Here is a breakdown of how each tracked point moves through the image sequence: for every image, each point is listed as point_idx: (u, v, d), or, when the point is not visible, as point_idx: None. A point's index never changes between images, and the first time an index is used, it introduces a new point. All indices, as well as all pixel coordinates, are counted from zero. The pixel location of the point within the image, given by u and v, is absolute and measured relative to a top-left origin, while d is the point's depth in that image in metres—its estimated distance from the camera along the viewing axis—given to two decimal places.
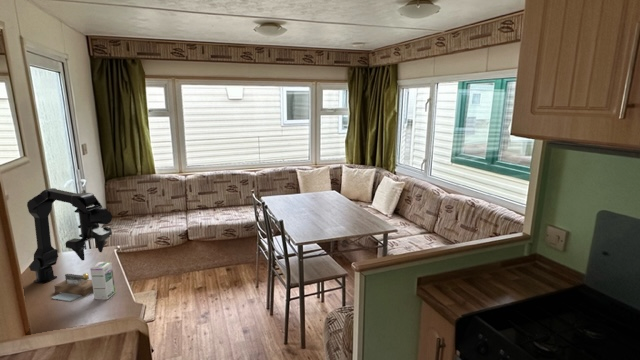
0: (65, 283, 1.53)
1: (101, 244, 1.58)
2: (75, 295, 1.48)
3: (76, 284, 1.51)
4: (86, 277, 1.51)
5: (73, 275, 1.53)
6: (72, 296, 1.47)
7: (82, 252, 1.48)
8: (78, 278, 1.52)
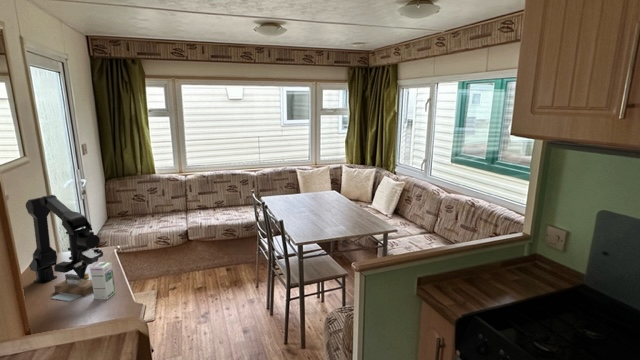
0: (65, 283, 1.53)
1: None
2: (75, 295, 1.48)
3: (76, 284, 1.51)
4: (86, 277, 1.51)
5: (73, 275, 1.53)
6: (72, 296, 1.47)
7: (81, 271, 1.48)
8: (78, 278, 1.52)
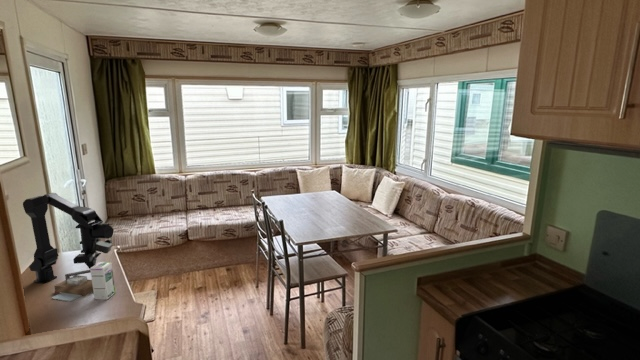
0: (65, 283, 1.53)
1: None
2: (75, 295, 1.48)
3: (76, 284, 1.51)
4: None
5: (76, 272, 1.55)
6: (72, 296, 1.47)
7: (94, 262, 1.56)
8: None
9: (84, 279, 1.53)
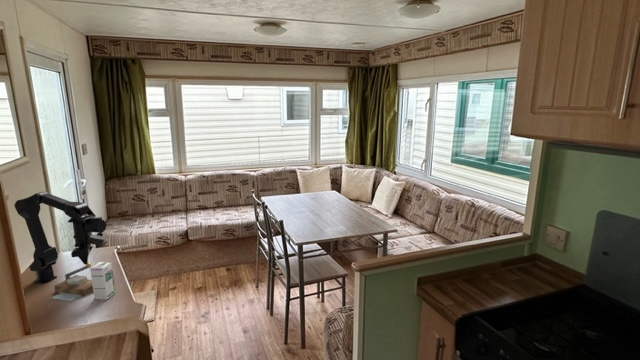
0: (65, 283, 1.53)
1: (87, 255, 1.59)
2: (75, 295, 1.48)
3: (76, 284, 1.51)
4: None
5: (75, 271, 1.57)
6: (72, 296, 1.47)
7: (87, 256, 1.57)
8: (83, 269, 1.60)
9: (84, 279, 1.53)
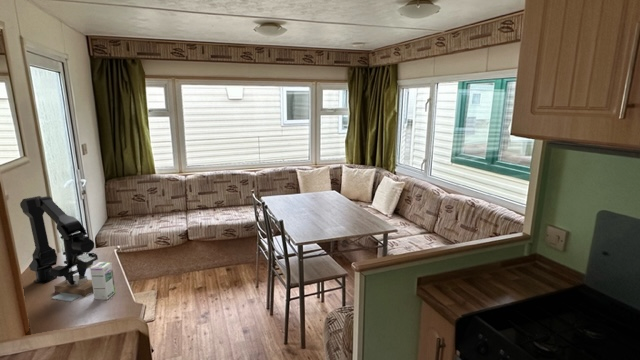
0: (65, 283, 1.53)
1: (82, 271, 1.55)
2: (75, 295, 1.48)
3: (76, 284, 1.51)
4: None
5: (75, 271, 1.57)
6: (72, 296, 1.47)
7: (71, 277, 1.49)
8: None
9: (84, 279, 1.53)
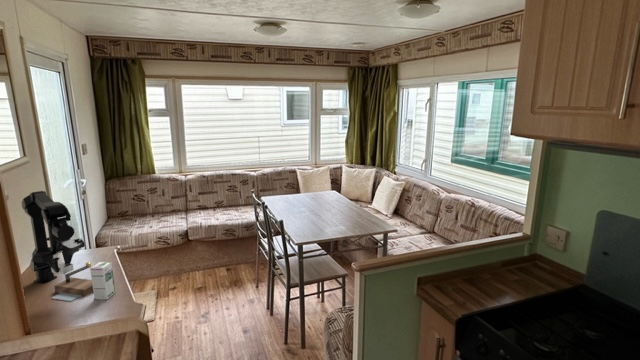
0: (65, 283, 1.53)
1: (68, 259, 1.47)
2: (75, 295, 1.48)
3: (61, 272, 1.42)
4: (90, 264, 1.64)
5: (75, 271, 1.57)
6: (72, 296, 1.47)
7: (56, 264, 1.41)
8: (83, 269, 1.60)
9: (70, 267, 1.45)
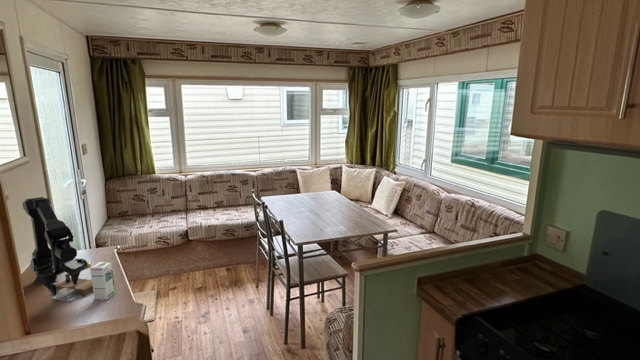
0: (65, 283, 1.53)
1: (75, 276, 1.50)
2: None
3: (65, 297, 1.45)
4: (90, 264, 1.64)
5: None
6: None
7: (53, 287, 1.40)
8: (83, 269, 1.60)
9: (73, 292, 1.47)
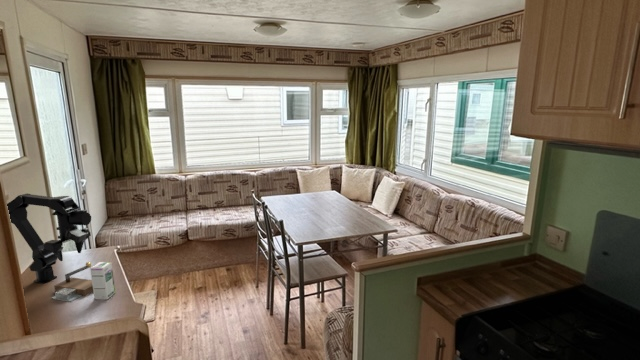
0: (65, 283, 1.53)
1: (80, 245, 1.63)
2: None
3: (65, 297, 1.45)
4: (90, 264, 1.64)
5: (75, 271, 1.57)
6: None
7: (60, 253, 1.53)
8: (83, 269, 1.60)
9: (73, 292, 1.47)
